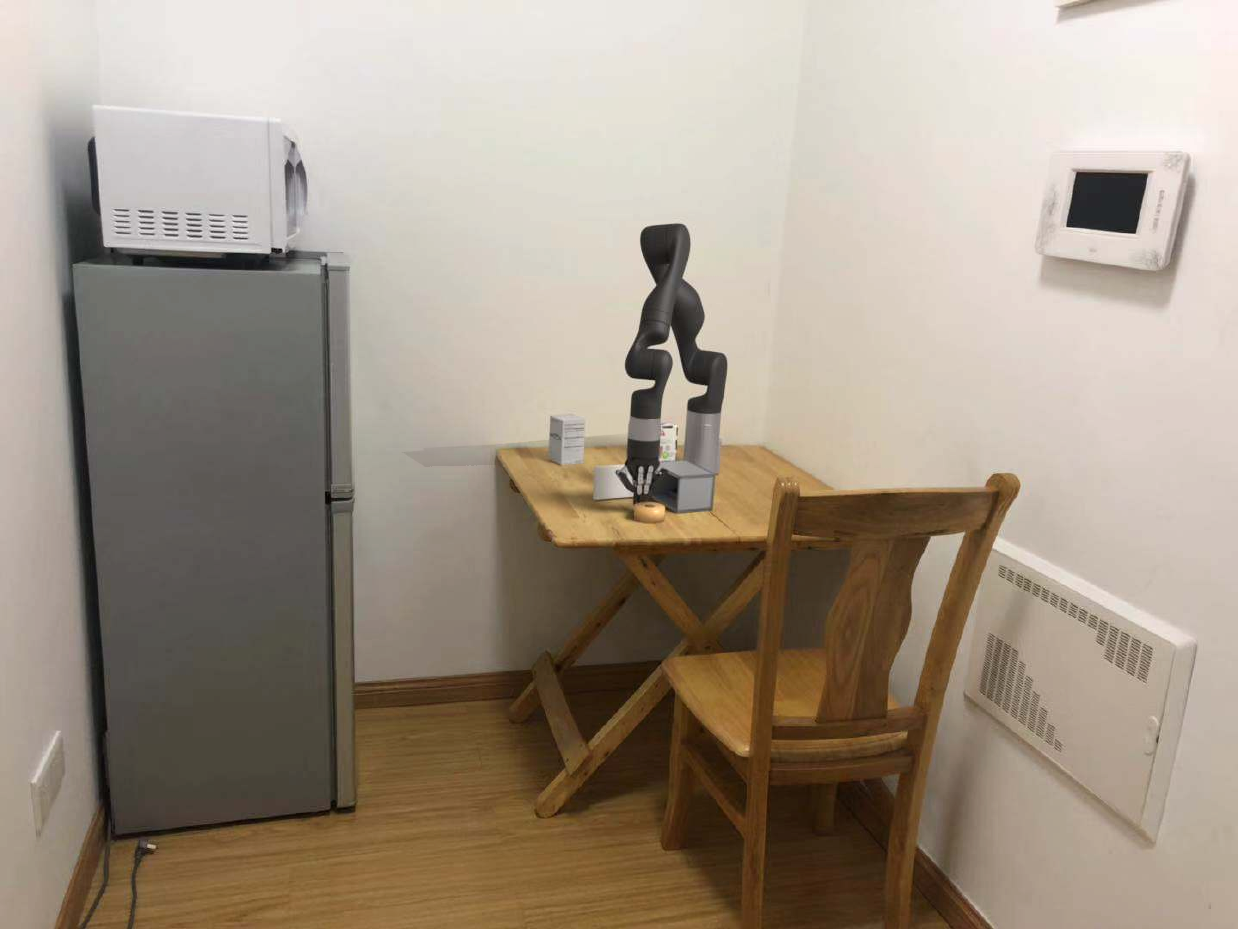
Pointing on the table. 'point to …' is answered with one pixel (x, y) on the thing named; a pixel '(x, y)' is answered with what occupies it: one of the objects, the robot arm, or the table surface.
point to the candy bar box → (668, 442)
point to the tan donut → (649, 512)
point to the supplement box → (566, 439)
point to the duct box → (685, 487)
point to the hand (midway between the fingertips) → (639, 508)
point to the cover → (609, 483)
